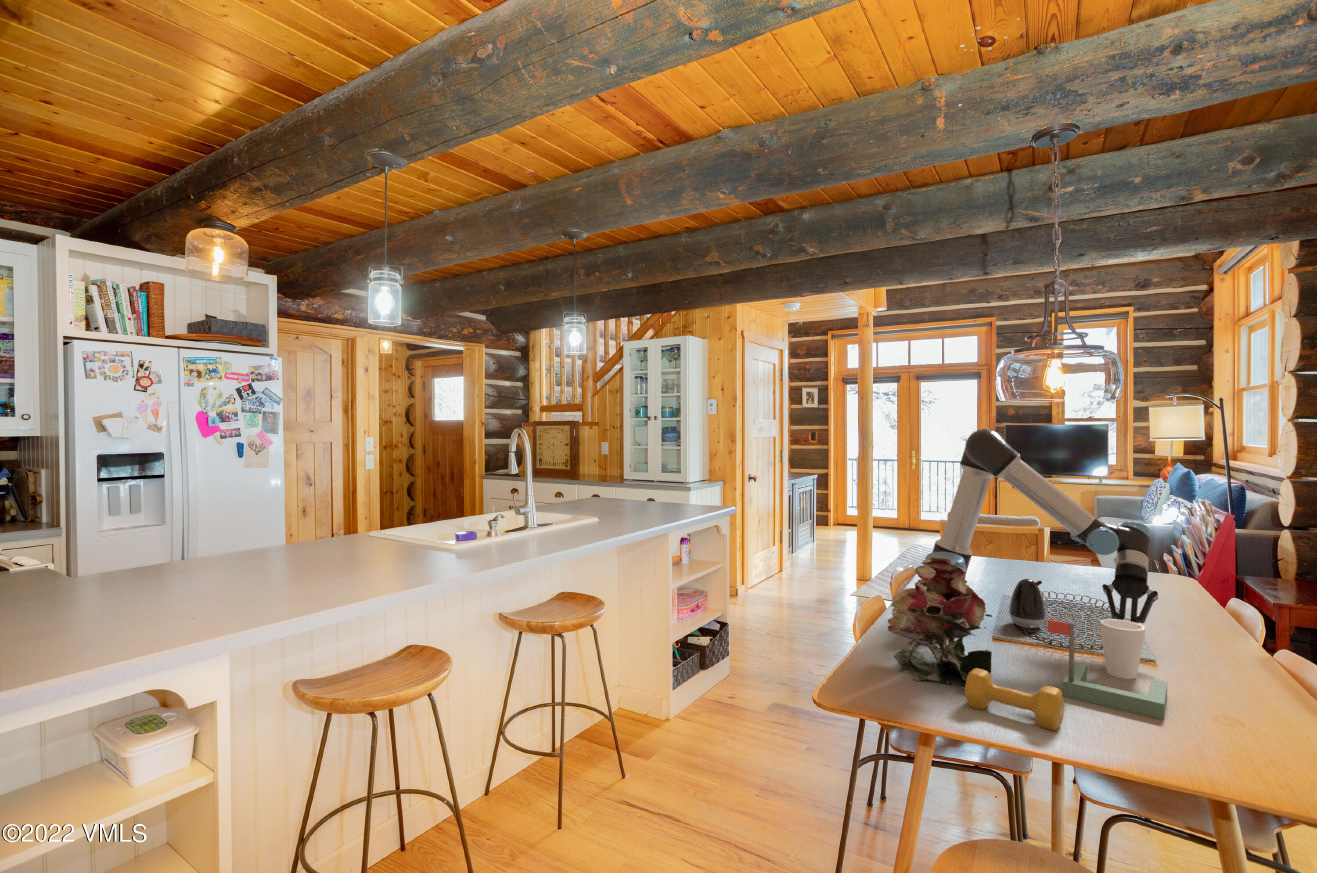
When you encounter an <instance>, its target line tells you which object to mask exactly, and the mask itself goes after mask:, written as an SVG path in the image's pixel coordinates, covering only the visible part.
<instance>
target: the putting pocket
mask: <svg viewBox="0 0 1317 873" xmlns="http://www.w3.org/2000/svg"><path fill="white" fill-rule="evenodd" d="M1046 629H1047V633H1052V634H1056V635H1057V634H1058V635H1062V636H1067V637H1069V638H1068V642H1069V643H1068V671H1067V673H1066V674H1065V676H1064V678H1063V680H1062V695H1063V697H1066V698H1071V699H1074V700H1078V701H1079V700H1080V701H1084V702H1087V703H1092V704H1097V705H1099V706H1103V707H1107V708H1113V709H1116V710H1121V711H1124V712H1129V713H1133V714H1138V715H1142V716H1146V717H1150V718H1154V719H1159V720H1162V721H1164V720H1165V715H1166V709H1167V708H1166V707H1167V702H1168V701H1167V700H1168V681H1163V680H1160V679H1159V680H1158V679H1154V678H1151V679H1150V685H1149V690H1148V694H1147V695H1145V694H1142V693H1136V692H1132V691H1127V690H1123V689H1118V688H1114V687H1109V686H1104V685H1101V684H1096V683H1092V682H1087V679H1088V677H1087V676H1088V665H1087V664H1083V663H1077V662H1075V622H1071V621H1070V622H1064V621H1060V620H1055V619H1054V620H1052V619H1047V628H1046Z"/></svg>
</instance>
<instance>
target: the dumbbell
mask: <svg viewBox="0 0 1317 873" xmlns="http://www.w3.org/2000/svg"><path fill="white" fill-rule="evenodd" d="M964 688H965V689H964V695H965V699H966V702H967V704H968V705H969V707H971V708H973V709H977V710H984V709H986V707H988V706H989V705H990V703H991V702H993V701H995V702H999V703H1000V704H1003V705H1007V706H1009V707H1013V708H1014V707H1015V708H1018V709H1021V710H1026V711H1030V712H1032V713H1033V714H1034V716H1035V719H1036V723H1037V725H1039V727H1041V728H1043V729H1046V730H1051V731H1057V730H1058V729H1059V728H1060V726H1062V725H1061V724H1062V723H1063V719H1064V712H1065V701H1064V696H1063V691H1062V690H1061V689H1060V688H1057V687H1054V686H1052V685H1044V686H1042V687H1041V688H1040V689H1039V690H1038V691H1037V692H1036V693H1035V694H1030V693H1026V692H1023V691H1020V690H1016V689H1014V688H1013V689H1012V688H1008V687H1005V686H1004V687H1003V686H999V685H996V684H995V682H994V681H993V678H992V675H991V673H990V674H989V673H988V672H987V671H986V670H983V669H978V668H975V669H973V670H972V671H970V672H969V674H968V676H967V679H966V680H965V686H964Z"/></svg>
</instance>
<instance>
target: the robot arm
mask: <svg viewBox="0 0 1317 873" xmlns="http://www.w3.org/2000/svg"><path fill="white" fill-rule="evenodd" d="M959 465H960V468H961V469H962V473H961V475H960V476H961V477H960V480H959V483H958V485H957V489H956V492H955V495H954V498H953V502H952V504H951V507H950V511H949V514H948V518H947V521H946V523H945V528H944V531H943V533H942V537H941V538H939V539H937V540H935V541H934V546H933V549H932V552H930V553H927V555H926V556H925V558H924V560H926V558H927V557H929V558H930V557H931V558H936V557H945V558H949V559H950V560H951V563H952V564H954V565H956V566H957V567H961V568H963V569H965V570H966V572H965V574H964V575H963V579H964V580H966V576H967V575H966V574H967V572H968V568H969V565H970V562H971V559H972V555H973V551H972V550H971V548H970V545H971V543H972V539H973V536H974V533H975V530H976V527H977V524H978V520H979V519H980V518H979V517H980V514H981V512H982V508H983V505H984V502H985V499H986V496H987V492H988V490H989V486H990V483H991V481H992V479H993V478H997V479H999V478H1001V479H1003V480H1004V481H1005V482H1007V483H1008V484H1009V485H1010V486H1011V487H1013V488H1014V489H1016V490H1017V491H1018V492H1019V493H1021V494H1022V495H1023V496H1024V497H1025V498H1026V499H1028V500H1029V501H1030V502H1032V503H1033V504H1034V505H1035V506H1037V507H1038V508H1039V509H1041V510H1042V511H1043V512H1044V513H1045V514H1047V515H1048V516H1049V517H1051V518H1052V519H1053V520H1054V521H1055V522H1057V523H1058V524H1059V525H1061V526H1062V527H1063V528H1064V529H1066V530H1067V531H1068V532H1069V533H1070V539H1072V540H1073V541H1075V542H1079V543H1080V544H1082V543H1083V544H1084V545H1085V546H1086V547H1088V549H1089V550H1091V551H1092V552H1093V553H1095V554H1097V555H1100V556H1101V555H1102V556H1109V555H1111V554H1114V553H1115V552H1116V557H1115V558H1116V560H1115V572H1114V579H1113V581H1112V582H1111V584H1105V583H1104V584H1102V592H1103V594H1105V595H1106V598H1107V601H1108V602H1107V603H1108V606H1109V612H1110V615H1111V619H1118V620H1125V621H1130V622H1134V623H1137V624H1145V622H1146V620H1147V618H1148V616H1149V613H1150V611H1151V609H1152V607H1153V604H1154V603H1155V601H1157V600H1158V599H1159V592H1158V591H1156V590H1152V589H1150V587H1149V585H1148V574H1149V572H1148V571H1149V557H1150V556H1149V554H1150V547H1151V546H1150V545H1151V532H1150V529H1149V527H1148V526H1147V525H1146V524H1144V523H1142V522H1139V521H1135V520H1133V521H1130V520H1129V521H1125V522H1122V523H1121V524H1120V525H1115V524H1111V523H1107V522H1104V521H1103V522H1102V521H1101V520H1099V519H1097V518H1096V517H1095V516H1094V515H1092V514H1091V513H1089V511H1087V510H1086V509H1085V508H1083V507H1082V506H1081V505H1080V504H1078V503H1077V502H1075V500H1074V499H1072V498H1071V497H1069V496H1068V495H1067V494H1065V493H1064V492H1063V491H1061V490H1060V489H1059V488H1058V487H1057V486H1055V485H1054V484H1053V483H1052V482H1050V481H1049V480H1048V479H1047V478H1045V477H1044V476H1043V475H1042V474H1040V473H1038V472H1037V471H1036V469H1035V470H1034V468H1033V467H1031V466H1029V464H1027V463H1026V462H1025V461H1023V460H1022V459H1021V454H1020V453H1019V452H1017V451H1016V449H1014V448H1013V447H1012V446H1011V445H1010V444H1009V443H1008V442H1007V441H1006V439H1005V438H1004V436H1003V435H1002V434H1001V433H1000V432H998V431H997V430H994V429H989V428H981V429H978V430H975V431H974V432H972V433H971V434H970V435H969V436H968V438H967V439H966V442H965V446H964V450H963V453H962V456H961V460H960V463H959ZM1114 590H1115V592H1116V593H1117V594H1118V595H1119V596H1120V600H1119V612H1117V609H1116V606H1115V601H1114V597H1113V593H1114ZM1145 595H1146V598H1145V601H1144V604H1143V606H1142V608H1141V611H1140V613H1139V615H1138V607H1139V606H1138V604H1139V599H1142V597H1144V596H1145ZM1128 599H1131V605H1130V618H1126V611H1127V610H1126V609H1127V600H1128ZM968 632H969V633H971V632H972V630H971V631H968ZM953 633H954V637H962V636H963V635H964V636H969V635H968V634H965V633H963V632H961V631H957V630H953ZM964 636H963V637H964Z"/></svg>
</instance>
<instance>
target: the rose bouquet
mask: <svg viewBox="0 0 1317 873" xmlns="http://www.w3.org/2000/svg"><path fill="white" fill-rule="evenodd" d="M925 558H926V557H925ZM920 564H922V565H920V566H916V567H915V569H914V570H915V571H914V572H915V574H916V575H917V577H918V578H919V579H918V580H917V581H916V582H915V583H914V587H912V588H911V587H909V588H904V589H902V590H901V591H899V592H897V593H896V594H894V595H892V599H891V600H890V601H891V603H890V607H892V609H891V615H892V617H891V618H889V619H887V623H888V624H889V625H888V626H887V630H888V632H889V633H893V634H896V635H899V636H900V637H904V638H906V639H907V640H911V641H909V642H908V644H907V645H908V646H906V647H902V648H901V649H900V651H897V652H896V653H895V654H894V658H895V659H896V660H897V662H899V664H900V667H901V668H900V669H899V670H898V672H900V673H903V672H906V671H907V672H909V673H910V674H909V675H908V676H909V677H910V679H912V680H914V681H916V682H921V681H923V680H930V681H933V682H937V683H940V684H945V685H949V686H951V685H952V682H951V681H949V680H947V679H945V678H943V677H942V676H945V675H946V674H945V672H946V670H947V669H948V668H950V669H952V670H955V671H957V673H958V674H959V673H960V675H961V677H962V679H963V681H966V679H967V676H968V674H969V672H970V671H972V670H973V669H975V668H978V669H983V670H986V671H987V672H988V673H989V674H990V675H991V673H992V654H993V653H992V651H991V650H988V649H985V650H982V649H981V650H980V649H979V650H973V651H972V650H971V651H968V652H967V654H966V653H965V651H966V648H965V645H964V642H963V641H964V635H963V636H959V637H958V639H956V640H955V636H954V633H953V630H957V631H961V632H963V633H965V634H968V635H967V636H971V637H973V636H977V635H976V634H974V633H969V632H968V631H971V632H972V631H976V630H979V629H981V627H980V626H981V622H982V621H984V618H985V617H989V618H992V617H993V615H992V614H988V611H987V610H986V602H985V601H984V599H983V598H982V597H979V595H978V594H977V593H976V592H975V591H974V589H972V588H971V587H970V586H969V585H968V584H967V583H968V581H967V580H966V579H965V580H964V579H963V575H964V574H965V572H966V570H965V569H963V568H961V567H957V566H956V565H954V564H952V563H951V560H950V559H949V558H945V557H936V558H931V557H930V558H929V557H927V558H926V560H925V559H924V560H922V561H921V562H920ZM985 613H987V614H985ZM983 629H987V627H985V626H984V627H983ZM914 642H915V643H914ZM994 642H997V641H996V639H994ZM911 646H912V647H911ZM919 646H924V647H926V648H928V649H929V651H925V650H922V649H919ZM960 689H962V690H965V686H963V687H961V686H960Z"/></svg>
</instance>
